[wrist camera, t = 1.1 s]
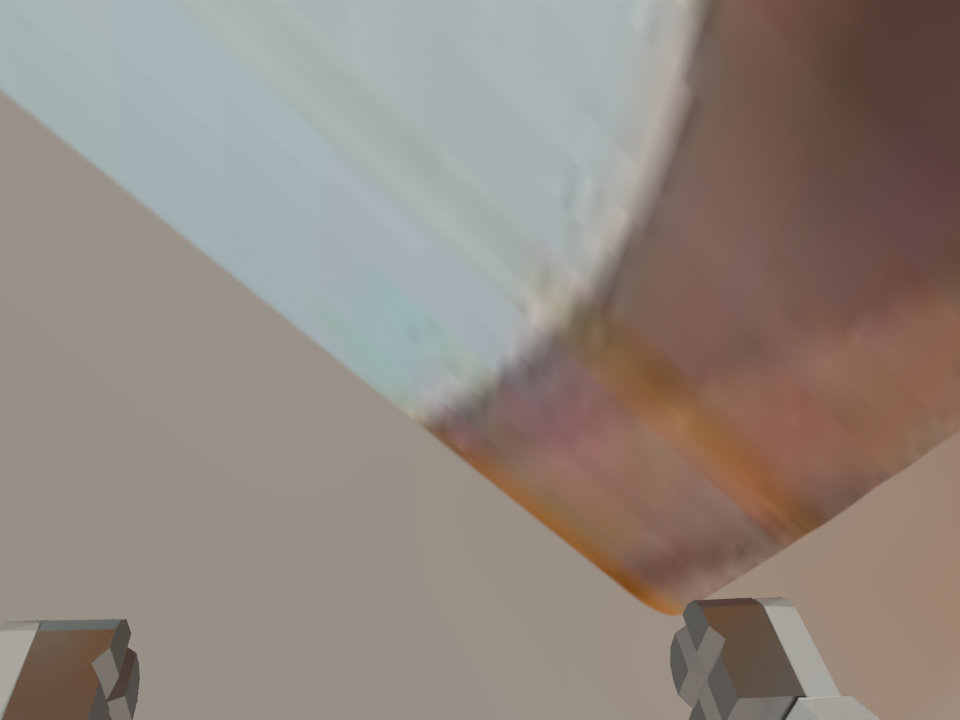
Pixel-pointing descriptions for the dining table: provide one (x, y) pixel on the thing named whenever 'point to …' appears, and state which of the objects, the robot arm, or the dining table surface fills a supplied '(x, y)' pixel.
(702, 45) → the dining table surface
